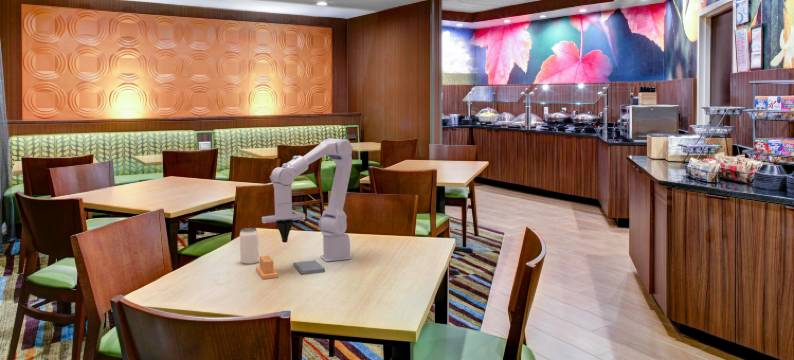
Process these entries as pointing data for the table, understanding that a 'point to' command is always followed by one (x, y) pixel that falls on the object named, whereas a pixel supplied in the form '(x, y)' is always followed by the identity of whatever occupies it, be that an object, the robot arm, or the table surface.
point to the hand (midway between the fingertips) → (284, 241)
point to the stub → (266, 268)
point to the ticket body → (308, 267)
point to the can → (249, 246)
